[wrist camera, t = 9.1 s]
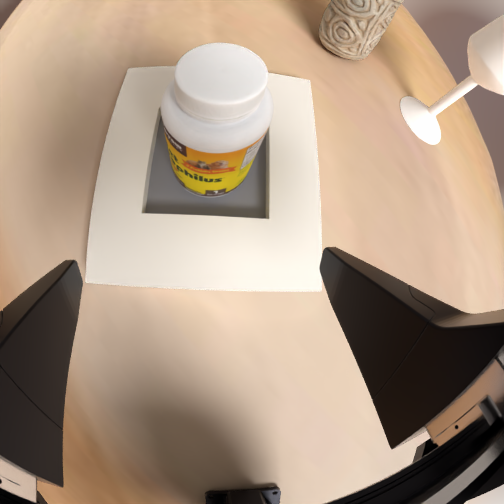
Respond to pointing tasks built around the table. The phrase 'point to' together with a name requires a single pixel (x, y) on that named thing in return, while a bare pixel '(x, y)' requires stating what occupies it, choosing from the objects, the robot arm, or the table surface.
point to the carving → (355, 26)
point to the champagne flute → (482, 73)
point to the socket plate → (206, 202)
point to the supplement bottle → (216, 117)
